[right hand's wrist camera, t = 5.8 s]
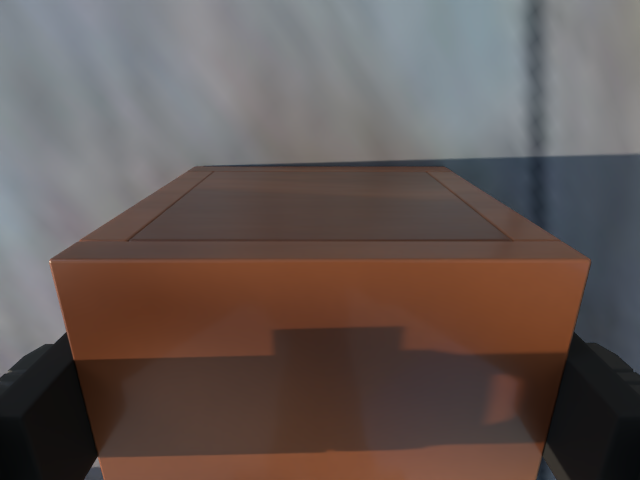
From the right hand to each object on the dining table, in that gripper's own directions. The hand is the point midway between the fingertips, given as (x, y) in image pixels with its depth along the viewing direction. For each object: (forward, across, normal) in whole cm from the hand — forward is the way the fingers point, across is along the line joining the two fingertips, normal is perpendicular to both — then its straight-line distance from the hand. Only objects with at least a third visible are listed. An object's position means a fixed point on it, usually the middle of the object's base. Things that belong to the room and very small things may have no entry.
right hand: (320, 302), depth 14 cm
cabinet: (+5, 0, -6) cm, 7 cm away
